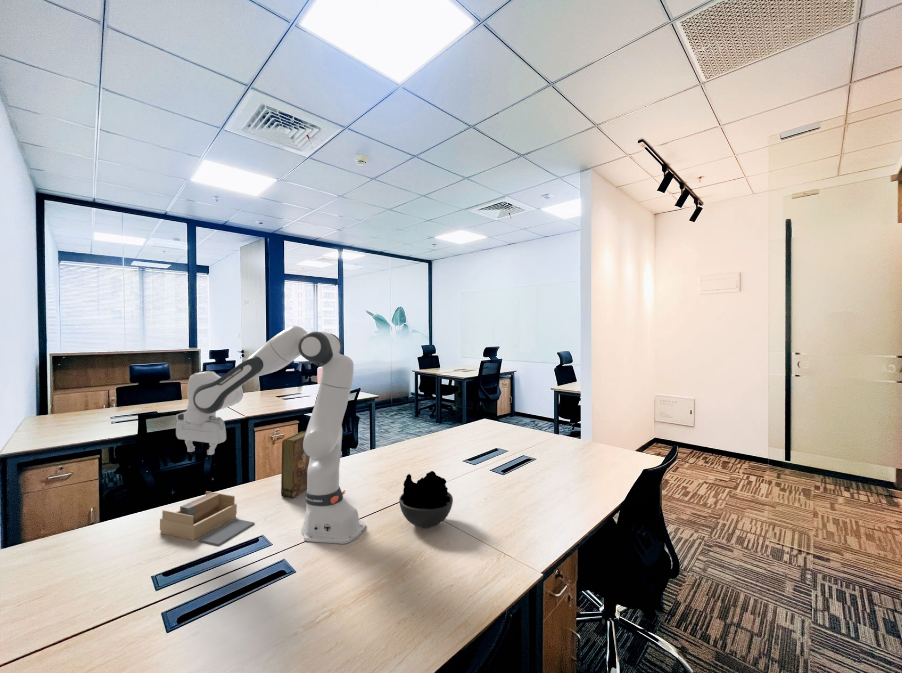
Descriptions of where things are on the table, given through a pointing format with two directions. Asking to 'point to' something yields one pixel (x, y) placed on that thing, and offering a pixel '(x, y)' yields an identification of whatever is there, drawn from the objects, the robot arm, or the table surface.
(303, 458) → the book
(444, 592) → the table surface
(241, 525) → the mat
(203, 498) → the capped box
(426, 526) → the coal bowl
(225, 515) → the carton
